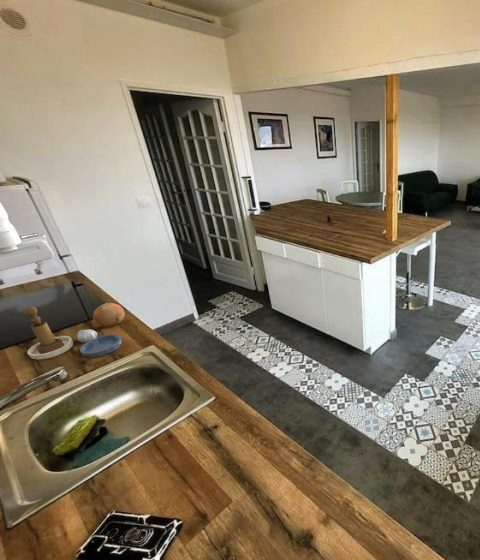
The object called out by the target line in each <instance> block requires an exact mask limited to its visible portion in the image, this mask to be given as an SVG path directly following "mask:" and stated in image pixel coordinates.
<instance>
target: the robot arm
mask: <svg viewBox="0 0 480 560" xmlns="http://www.w3.org/2000/svg"><path fill="white" fill-rule="evenodd" d="M9 219H10V218H9V214H8V212H7V211H6V209H5V207H4V206H3V204H2V202H0V272H2V271H8V270H11V269H14V268H15V269H16V268H18V267H22V266H26V265H31V264H36V265H37V266H36V268H34V269H33V271H34V273H35V275H37V276H39V275H42V274H44V271H43V268H44V261H46V260H50V259H53V258H54V257H55V253H54V251H53V249H52V248H51V247H50V245H49V244H48V243H49V241H48V239H47V236H46V235H44V234H42V233H38V232H33V233H30V234H23V235H19V233H18V232H17V230H16V227H15V226H14V225H13V224H12V223H11V222H10V220H9ZM3 285H5V282H4V279H2V278H0V286H3Z"/></svg>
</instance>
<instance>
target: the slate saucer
mask: <svg viewBox="0 0 480 560" xmlns="http://www.w3.org/2000/svg"><path fill="white" fill-rule="evenodd" d="M122 343H123V340H122V337H121V335H119V334H111V333H110V334H105V335H101V336H97V338H95V339H92V340H90V341H88V342H86V343H83V344H82V346H81V347H80V348H79V352H80V354H81V356H83V357H84V358H89V359H91V358H92V359H93V358H99V357H103V356H106V355H109V354H111V353H113V352H114V351H116V350H118V349H119V348H121V346H122Z"/></svg>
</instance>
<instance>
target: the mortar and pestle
mask: <svg viewBox="0 0 480 560" xmlns="http://www.w3.org/2000/svg"><path fill="white" fill-rule="evenodd" d="M23 313H24V315H26V316H28V317H30V321H31V323H32V324H31V325H30V328H31V330H32V331H33V334H34V335H35V337H36V338H37V340H38V343H39V342H40V344H39V346H38V347H37V350H38V351H39V353H40V354H45V353H48V352H52V351H55V350H57V349H59V348H61V347H63V346H64V343H63V341H62V340H61V339H55V337H56V336H54V334H53V332H52V331H51V330H52V329H51V328H50V327H49V325H48V322H47V321H46V320H42V319H41V317H40V316H38V315H37V314H38V308H36V306H28V307H25V309H24V310H23ZM41 320H42V321H41Z"/></svg>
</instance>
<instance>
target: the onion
mask: <svg viewBox="0 0 480 560" xmlns="http://www.w3.org/2000/svg"><path fill="white" fill-rule="evenodd" d="M92 318H93V321H94V322H95V323H96V324H97V325H98V326H100V327H105V328H107V327H114V326H117V325H119V324H121V322H122V321H123V320H124V319H125V310H124V308H123V307H122V306H121V305H120V304H117V303H113V302H105V303H103V304H101V305H99V306H98V307H96V308H95V310H94V311H93V315H92Z"/></svg>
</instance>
